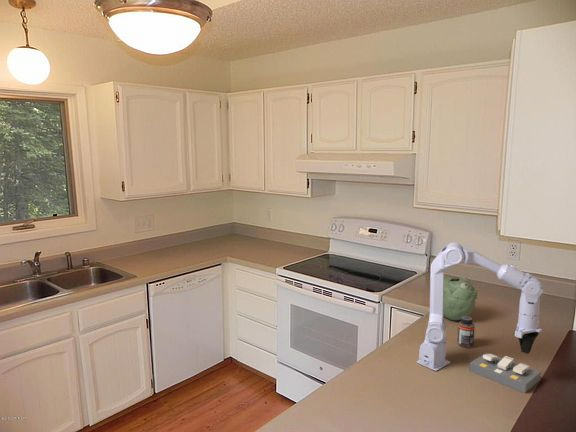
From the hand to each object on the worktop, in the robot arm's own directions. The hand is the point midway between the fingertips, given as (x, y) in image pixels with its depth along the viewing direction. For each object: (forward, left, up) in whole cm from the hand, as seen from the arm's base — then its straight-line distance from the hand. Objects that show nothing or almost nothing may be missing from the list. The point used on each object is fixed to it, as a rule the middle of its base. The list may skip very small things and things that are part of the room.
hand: (525, 352), depth 138 cm
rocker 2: (-2, +5, -5) cm, 7 cm away
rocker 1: (-2, +10, -5) cm, 11 cm away
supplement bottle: (+9, +25, -10) cm, 28 cm away
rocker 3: (-2, 0, -5) cm, 6 cm away
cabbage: (+31, +42, -10) cm, 53 cm away
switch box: (-3, +5, -9) cm, 11 cm away
